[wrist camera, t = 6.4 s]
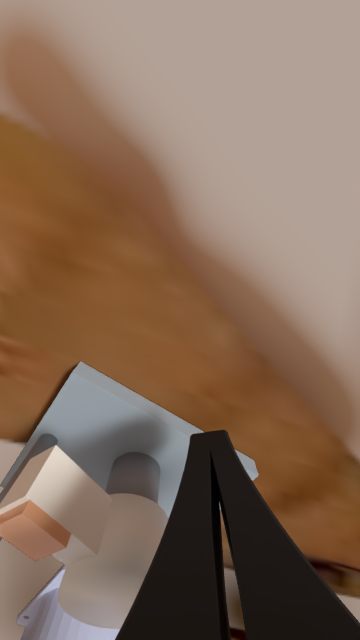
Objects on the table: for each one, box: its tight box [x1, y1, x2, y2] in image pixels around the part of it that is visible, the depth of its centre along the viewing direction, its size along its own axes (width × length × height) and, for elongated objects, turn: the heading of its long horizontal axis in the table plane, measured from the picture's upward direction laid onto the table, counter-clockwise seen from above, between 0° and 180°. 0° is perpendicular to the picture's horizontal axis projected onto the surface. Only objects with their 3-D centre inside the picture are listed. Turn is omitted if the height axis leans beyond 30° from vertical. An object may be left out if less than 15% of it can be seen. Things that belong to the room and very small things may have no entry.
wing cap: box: [0, 445, 168, 629], centre depth 10 cm, size 11×4×3 cm, turn 33°
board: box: [0, 361, 259, 540], centre depth 12 cm, size 10×12×6 cm
